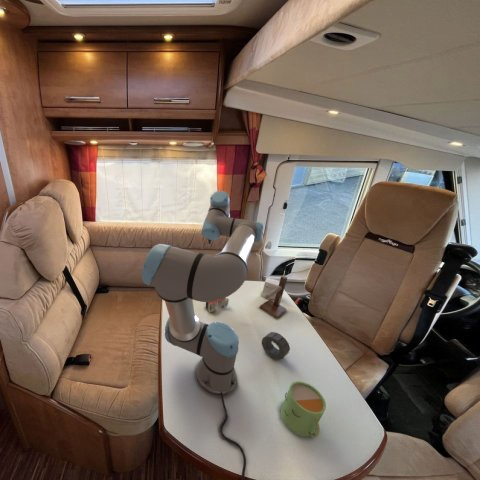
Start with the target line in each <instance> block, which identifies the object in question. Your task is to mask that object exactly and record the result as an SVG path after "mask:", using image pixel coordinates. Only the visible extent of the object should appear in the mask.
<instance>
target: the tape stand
mask: <svg viewBox="0 0 480 480" xmlns="http://www.w3.org/2000/svg"><path fill="white" fill-rule="evenodd" d="M279 281H280V282H279V286H278V287H277V288H275V289H274V290H272V291H271V292H269V293H268V294H265V295H264V297H263V298H264V299H265V300H266V301H264V302H263V303H262V304H260V305H259V309H260V310H262V311H264V312H265V313H267V314H268V315H270V316H272V317H273V318H275V319H278V318H279V317H280V316H282V315H283V314H284V313H286V312H287V310H288V309H287V307H284V306H282V305H281V302H282V299H283V298H282V297H283V295H284V292H285V287H286V284H287V282H288V277H287V276H285V275H282V276H280V278H279ZM275 293H276V296H275V300H272V299H269V298H270V297H271V296H272V295H274V294H275Z"/></svg>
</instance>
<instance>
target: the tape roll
mask: <svg viewBox="0 0 480 480" xmlns="http://www.w3.org/2000/svg"><path fill="white" fill-rule="evenodd" d="M273 343H274V344H275V345H276V346H277V347H278V348H277V347H276V346H274V344H273ZM261 346H262V348H263V349H262V350H264V352H265V353H266V354H267V355H268V356H269V357H270V358H272V359H274V360H277V361H281V360H283V359H285V358H286V357H287V355H288V354H290V350H291V347H290V343H289V342H288V340H287V339H286V337H284V336H283V335H282V334H280V333H279V332H275V331H270V332H268V333H267V334H265V335H264V336H263V337H262V339H261Z"/></svg>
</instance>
